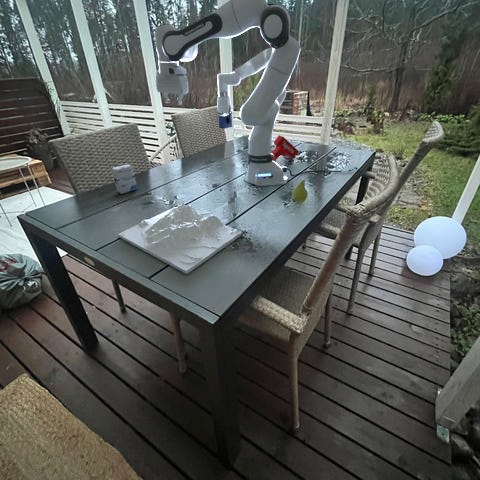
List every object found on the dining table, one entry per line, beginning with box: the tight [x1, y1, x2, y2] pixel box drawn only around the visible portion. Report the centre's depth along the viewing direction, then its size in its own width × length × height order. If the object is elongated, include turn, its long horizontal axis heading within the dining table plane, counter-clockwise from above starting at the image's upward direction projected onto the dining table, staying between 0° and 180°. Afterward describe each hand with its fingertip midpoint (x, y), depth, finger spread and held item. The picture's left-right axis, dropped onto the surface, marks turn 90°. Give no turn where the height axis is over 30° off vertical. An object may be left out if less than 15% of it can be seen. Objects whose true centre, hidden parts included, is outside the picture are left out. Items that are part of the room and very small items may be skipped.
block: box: [217, 113, 233, 130], centre depth 194 cm, size 5×8×8 cm, turn 139°
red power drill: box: [270, 134, 300, 163], centre depth 174 cm, size 18×4×15 cm
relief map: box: [117, 202, 243, 275], centre depth 96 cm, size 27×35×5 cm
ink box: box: [110, 164, 138, 195], centre depth 131 cm, size 8×5×12 cm, turn 135°
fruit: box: [291, 174, 311, 204], centre depth 118 cm, size 7×8×12 cm
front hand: (173, 103), depth 130 cm, fingers open, 8 cm apart
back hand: (225, 122), depth 194 cm, fingers closed on block, 5 cm apart
